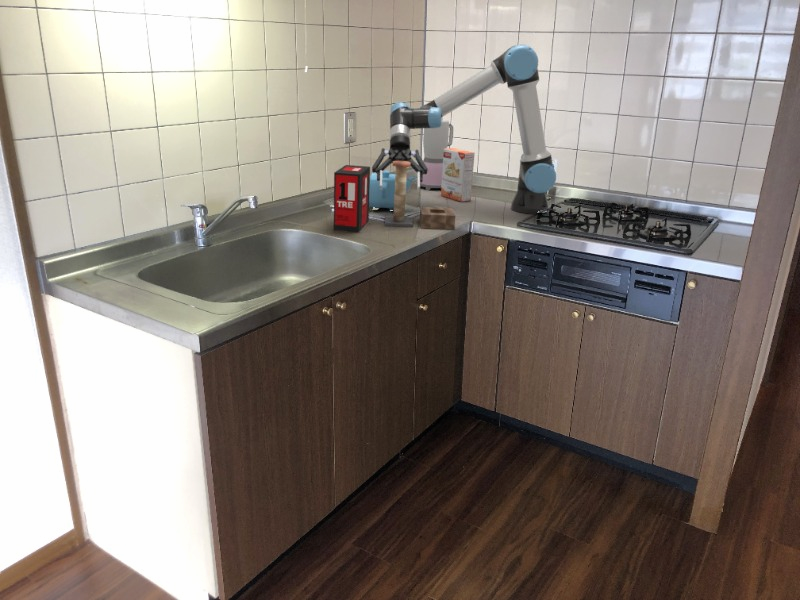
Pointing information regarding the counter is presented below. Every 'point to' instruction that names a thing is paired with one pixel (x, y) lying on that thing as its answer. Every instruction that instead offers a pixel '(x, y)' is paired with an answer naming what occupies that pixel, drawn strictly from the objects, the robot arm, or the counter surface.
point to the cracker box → (457, 174)
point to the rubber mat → (391, 222)
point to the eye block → (437, 218)
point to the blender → (435, 153)
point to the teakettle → (384, 190)
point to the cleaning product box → (351, 198)
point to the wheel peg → (400, 189)
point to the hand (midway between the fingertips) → (399, 188)
